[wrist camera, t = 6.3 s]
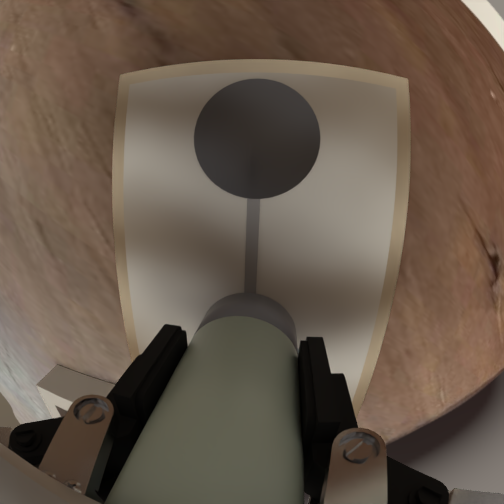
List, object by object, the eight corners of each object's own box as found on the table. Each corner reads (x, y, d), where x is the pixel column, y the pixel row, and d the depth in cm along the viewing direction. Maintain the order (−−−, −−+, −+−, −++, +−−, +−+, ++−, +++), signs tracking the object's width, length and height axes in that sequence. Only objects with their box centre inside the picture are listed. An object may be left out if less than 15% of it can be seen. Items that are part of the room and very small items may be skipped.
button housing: (57, 364, 17) (36, 385, 14) (142, 391, 16) (124, 421, 13) (85, 429, 19) (71, 449, 16) (162, 455, 18) (151, 480, 15)
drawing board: (131, 81, 11) (118, 73, 10) (398, 86, 10) (409, 78, 9) (148, 388, 16) (140, 401, 15) (352, 406, 15) (356, 421, 13)
